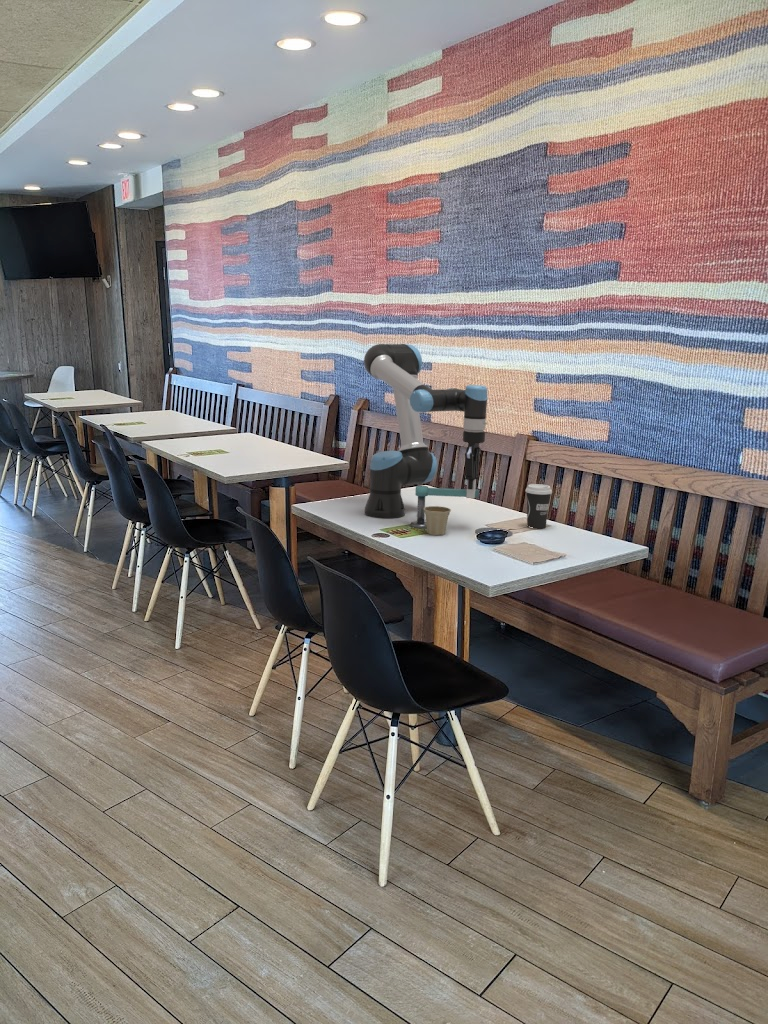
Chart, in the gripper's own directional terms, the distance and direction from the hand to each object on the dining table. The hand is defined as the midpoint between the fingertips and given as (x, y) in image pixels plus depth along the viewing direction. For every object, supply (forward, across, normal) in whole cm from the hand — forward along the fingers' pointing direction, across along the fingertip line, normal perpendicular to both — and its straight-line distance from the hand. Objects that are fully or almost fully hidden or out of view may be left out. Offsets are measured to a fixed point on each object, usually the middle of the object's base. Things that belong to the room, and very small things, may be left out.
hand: (470, 497), depth 289 cm
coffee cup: (+12, +16, -21) cm, 29 cm away
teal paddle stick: (0, 0, +9) cm, 9 cm away
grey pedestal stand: (+12, -3, +17) cm, 21 cm away
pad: (+11, -1, -9) cm, 15 cm away
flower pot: (+12, -10, +9) cm, 18 cm away
